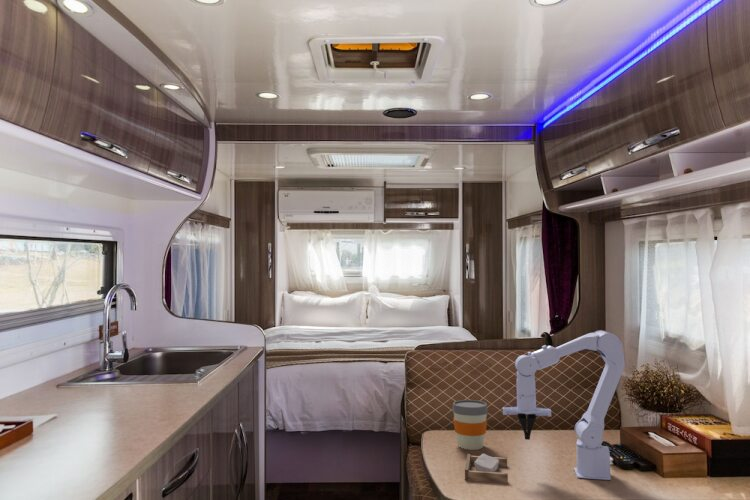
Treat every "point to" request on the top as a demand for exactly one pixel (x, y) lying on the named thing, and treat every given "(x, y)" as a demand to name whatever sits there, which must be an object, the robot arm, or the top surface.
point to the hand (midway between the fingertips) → (527, 438)
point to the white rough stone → (486, 463)
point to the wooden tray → (485, 475)
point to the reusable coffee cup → (470, 423)
